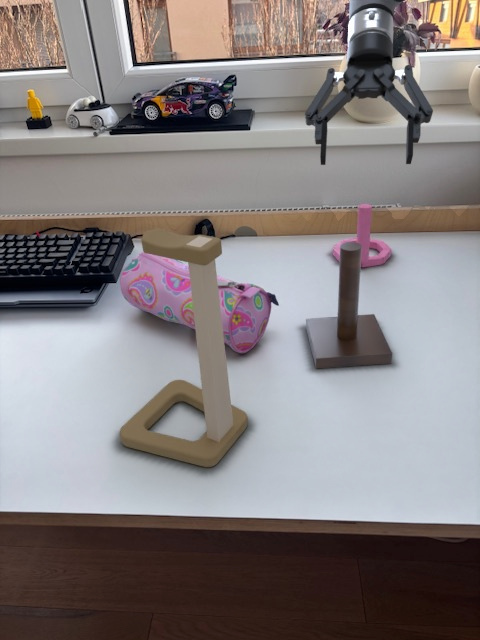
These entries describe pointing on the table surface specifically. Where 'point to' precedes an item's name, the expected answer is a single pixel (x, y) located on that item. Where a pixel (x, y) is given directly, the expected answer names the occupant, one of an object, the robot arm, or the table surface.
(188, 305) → the pencil case
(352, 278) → the stand
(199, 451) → the headphone stand
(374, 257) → the pink ring with handle
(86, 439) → the table surface
